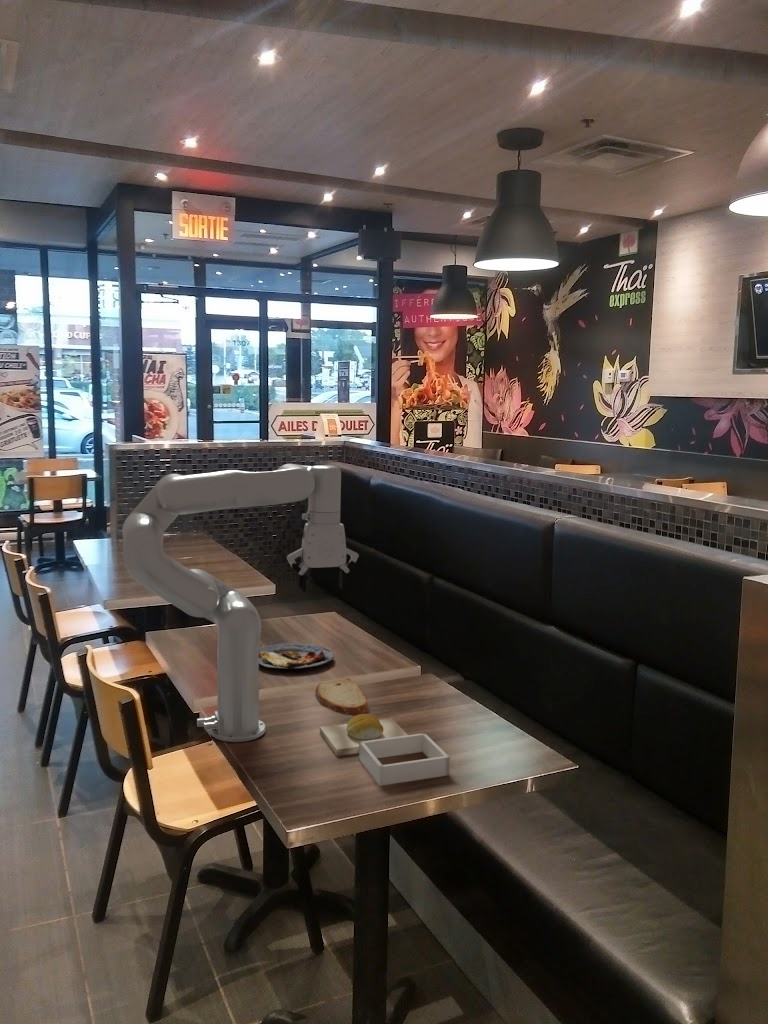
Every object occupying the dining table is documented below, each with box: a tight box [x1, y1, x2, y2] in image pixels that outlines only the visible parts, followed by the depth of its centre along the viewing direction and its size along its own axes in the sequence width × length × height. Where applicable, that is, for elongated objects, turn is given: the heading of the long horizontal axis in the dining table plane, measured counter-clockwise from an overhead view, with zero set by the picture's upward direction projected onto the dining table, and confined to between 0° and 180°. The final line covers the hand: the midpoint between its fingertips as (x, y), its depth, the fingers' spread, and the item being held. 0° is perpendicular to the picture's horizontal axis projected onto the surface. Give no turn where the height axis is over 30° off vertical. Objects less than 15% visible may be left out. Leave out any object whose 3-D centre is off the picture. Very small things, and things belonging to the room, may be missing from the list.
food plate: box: [259, 642, 335, 670], centre depth 246 cm, size 25×23×4 cm
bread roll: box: [346, 713, 383, 740], centre depth 191 cm, size 8×9×4 cm
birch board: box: [319, 718, 408, 757], centre depth 191 cm, size 18×13×2 cm
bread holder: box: [358, 732, 451, 787], centre depth 178 cm, size 16×13×4 cm
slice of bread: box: [314, 677, 370, 716], centre depth 216 cm, size 18×18×4 cm
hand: (322, 589), depth 196 cm, fingers open, 9 cm apart
